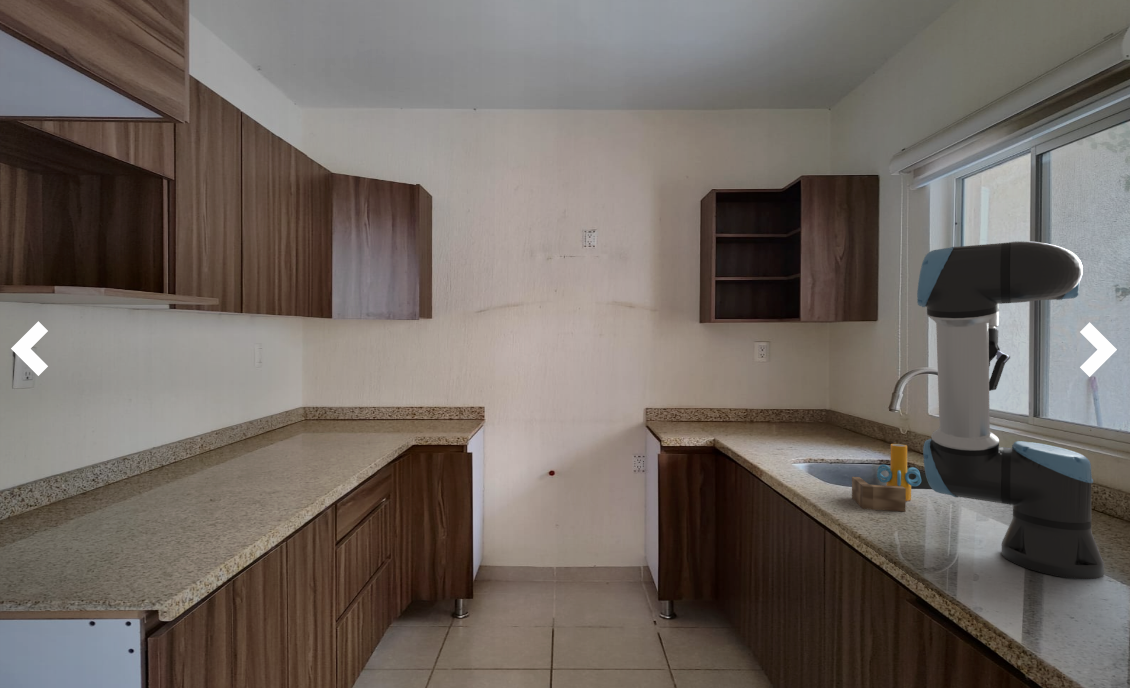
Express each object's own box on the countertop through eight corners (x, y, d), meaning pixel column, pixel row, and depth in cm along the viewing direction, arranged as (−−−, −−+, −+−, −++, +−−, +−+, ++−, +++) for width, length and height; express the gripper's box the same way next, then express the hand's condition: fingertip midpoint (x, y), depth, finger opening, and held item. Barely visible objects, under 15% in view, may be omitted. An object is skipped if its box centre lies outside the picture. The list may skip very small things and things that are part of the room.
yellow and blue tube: (877, 490, 158) (877, 439, 158) (919, 495, 153) (919, 443, 153) (876, 500, 148) (877, 447, 148) (921, 507, 143) (922, 451, 143)
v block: (854, 497, 151) (854, 476, 151) (908, 510, 139) (908, 487, 139) (837, 502, 147) (837, 480, 147) (891, 516, 135) (891, 492, 135)
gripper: (1016, 328, 140) (1012, 418, 140) (958, 329, 151) (955, 412, 151) (1004, 326, 136) (1000, 419, 136) (946, 327, 147) (942, 412, 147)
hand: (976, 415), depth 143 cm, fingers closed
